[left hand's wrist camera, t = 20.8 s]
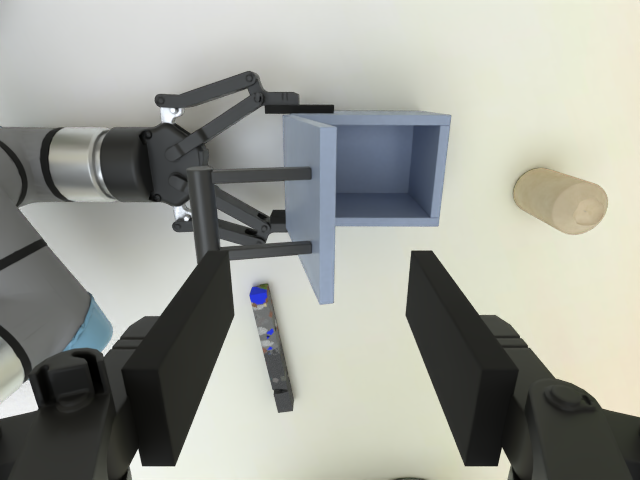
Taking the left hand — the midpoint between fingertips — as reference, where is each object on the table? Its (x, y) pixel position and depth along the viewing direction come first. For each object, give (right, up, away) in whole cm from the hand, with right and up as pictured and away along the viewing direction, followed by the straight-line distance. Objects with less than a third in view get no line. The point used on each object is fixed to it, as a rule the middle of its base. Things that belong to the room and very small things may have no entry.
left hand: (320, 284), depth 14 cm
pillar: (-7, -13, +41) cm, 43 cm away
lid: (-1, +5, +14) cm, 15 cm away
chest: (+4, +12, +31) cm, 34 cm away
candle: (+26, +8, +33) cm, 43 cm away
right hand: (+1, +9, +25) cm, 27 cm away
